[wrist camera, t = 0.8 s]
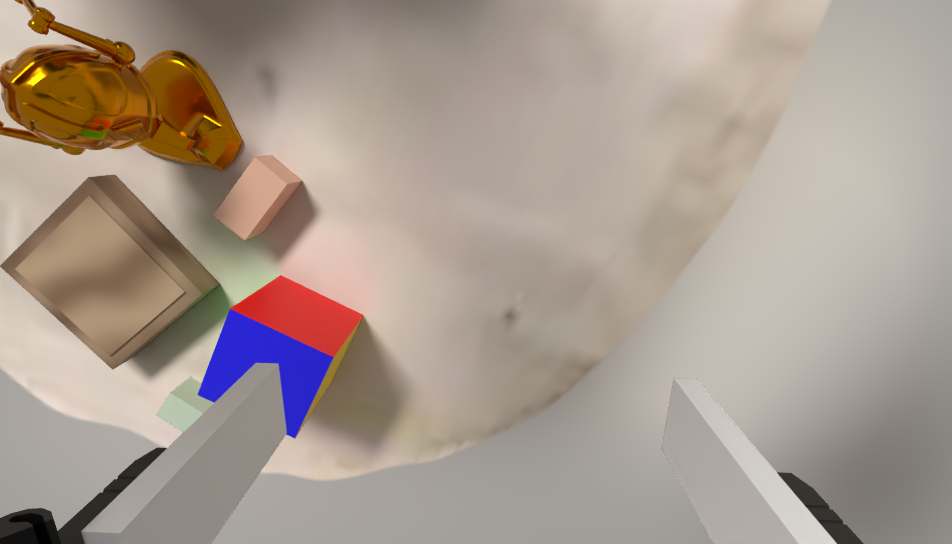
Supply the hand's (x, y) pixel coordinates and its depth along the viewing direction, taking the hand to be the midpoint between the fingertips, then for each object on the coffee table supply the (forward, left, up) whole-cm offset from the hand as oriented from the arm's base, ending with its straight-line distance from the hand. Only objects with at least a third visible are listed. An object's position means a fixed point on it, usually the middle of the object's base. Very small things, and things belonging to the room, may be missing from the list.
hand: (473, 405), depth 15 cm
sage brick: (-3, -31, -24) cm, 39 cm away
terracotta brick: (-14, -12, -24) cm, 30 cm away
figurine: (-23, -13, -24) cm, 36 cm away
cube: (-3, -18, -24) cm, 30 cm away
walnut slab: (-17, -27, -24) cm, 40 cm away
